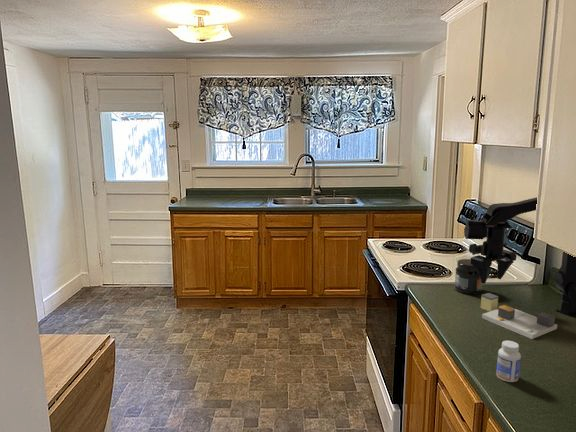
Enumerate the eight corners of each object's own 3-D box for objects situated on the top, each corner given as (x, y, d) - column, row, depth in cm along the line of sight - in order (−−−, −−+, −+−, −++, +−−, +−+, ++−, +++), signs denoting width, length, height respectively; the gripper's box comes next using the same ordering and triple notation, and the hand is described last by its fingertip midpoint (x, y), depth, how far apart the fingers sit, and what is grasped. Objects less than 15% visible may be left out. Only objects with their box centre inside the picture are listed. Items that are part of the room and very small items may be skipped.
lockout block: (487, 305, 164) (488, 292, 163) (497, 309, 160) (498, 296, 159) (480, 307, 162) (481, 294, 161) (490, 311, 158) (491, 298, 157)
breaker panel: (506, 309, 160) (506, 305, 160) (556, 328, 145) (557, 323, 144) (481, 318, 153) (482, 313, 153) (532, 339, 138) (532, 333, 137)
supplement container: (486, 290, 179) (488, 262, 176) (474, 297, 172) (477, 268, 169) (461, 283, 186) (463, 256, 184) (449, 290, 179) (451, 262, 177)
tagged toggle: (503, 313, 152) (504, 304, 152) (514, 318, 149) (515, 308, 148) (497, 315, 151) (498, 306, 150) (508, 319, 147) (509, 310, 147)
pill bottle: (511, 371, 120) (515, 338, 118) (522, 382, 114) (526, 348, 113) (492, 371, 120) (495, 339, 118) (502, 383, 114) (505, 349, 112)
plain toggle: (541, 320, 147) (542, 312, 146) (554, 325, 143) (555, 316, 143) (536, 322, 145) (537, 314, 145) (548, 327, 142) (549, 318, 141)
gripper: (491, 231, 167) (488, 270, 170) (458, 238, 158) (455, 279, 161) (519, 238, 158) (515, 279, 161) (486, 245, 149) (482, 288, 152)
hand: (491, 281), depth 159 cm, fingers open, 9 cm apart
